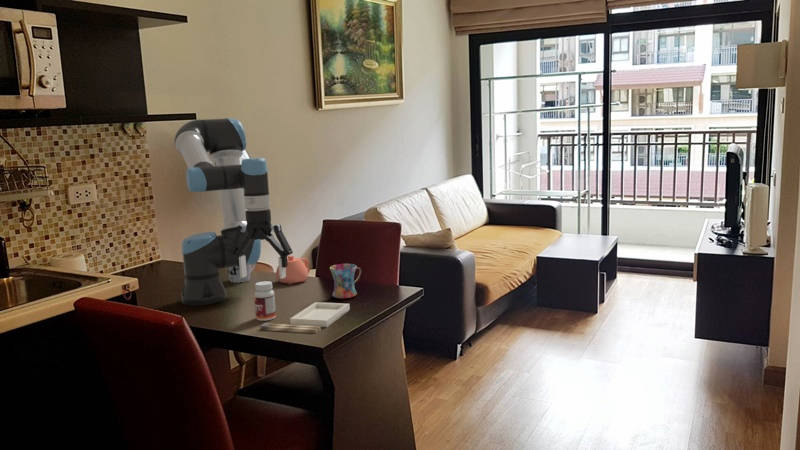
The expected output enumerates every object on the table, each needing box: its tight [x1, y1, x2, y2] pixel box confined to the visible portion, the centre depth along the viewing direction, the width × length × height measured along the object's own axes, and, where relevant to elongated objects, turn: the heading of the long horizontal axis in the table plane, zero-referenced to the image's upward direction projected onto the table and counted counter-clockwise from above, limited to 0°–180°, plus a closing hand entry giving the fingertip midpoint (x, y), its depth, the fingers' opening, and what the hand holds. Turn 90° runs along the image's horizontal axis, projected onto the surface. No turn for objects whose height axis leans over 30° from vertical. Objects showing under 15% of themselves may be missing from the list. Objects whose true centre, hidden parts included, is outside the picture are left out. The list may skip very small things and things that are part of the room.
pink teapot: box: [275, 254, 310, 286], centre depth 249 cm, size 12×14×10 cm
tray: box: [289, 301, 351, 328], centre depth 201 cm, size 12×18×2 cm, turn 163°
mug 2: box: [329, 263, 362, 299], centre depth 224 cm, size 12×9×11 cm
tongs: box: [259, 322, 322, 334], centre depth 190 cm, size 18×3×1 cm, turn 73°
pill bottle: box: [253, 280, 277, 322], centre depth 202 cm, size 6×6×11 cm
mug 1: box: [226, 263, 257, 284], centre depth 255 cm, size 10×15×10 cm
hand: (263, 277), depth 200 cm, fingers open, 13 cm apart
